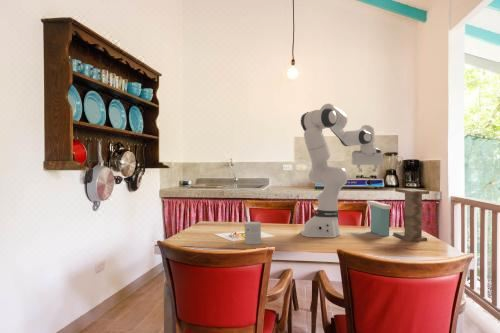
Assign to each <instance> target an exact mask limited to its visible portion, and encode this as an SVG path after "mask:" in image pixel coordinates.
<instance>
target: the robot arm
mask: <svg viewBox="0 0 500 333" xmlns="http://www.w3.org/2000/svg"><path fill="white" fill-rule="evenodd" d="M347 124H348V115H347V114H346V113H345V112H344V111H343V110H341V109H340V108H339V107H337V106H336V105H334V104H331V103H326V104H323V105H322V106H321V108H319V109H316V110H311V111H307V112H305V113H303V114H302V115H301V117H300V126H301V127H302V129H303V131H304V132H303V137H304V142H305V145H306V149H307V151H308V154H309V158H310V160H311V169H309V173H308V179H309V181H310V182H311V183H312V184H315V185H318V186H324V188H323V189H322V190H323V191H322V192H320V193H319V194H318V196H317V209H312V213H313V214H314V216H312V217H310V219H308V220H307V221H305V224H304V226H303V227H304V228H303V230H300V235H302V236H304V237H307V238H336V237H339V236H341V233H340V232H341V231H340V229H339V228H340V227H339V221H338V220H339V209H338V205H339V203H338V201H339V200H338V199H339V194H340V192H341V189H342V188H343V187H344V186H345V185H346V184H347V183H348V180H349V174H348V172H347V170H346V169H345V168H344V167H343V168H342V167H339V166H329V165H328V161H329V159H330V157H331V151H330V149H329V146H328V144H327V140H326V137H325V136H324V133H323V130H324V129H328V128H329V129H330V131H331V132H332V133H333V134H334V136H336V137H337V138H338V140H339V141H340V143H341V145H343V146H344V147H351V146H359V147H360V148H359V150H353V151H352V152H351V164H352V165H353V166H355V165H356V167H357V169H358V172H359V173H362V172H363V169H362V168H361V166H362V165H363V166H364V165H365V166H369V165H370V166H372V165H373V168H372V172H373V173H375V172H377V168H378V167H379V165H380V166H382V165H383V164H384V155H383V154H382V153H383V150H382V149H379V148H377V147H375V138H376V137H375V136H376V135H375V133H376V132H375V128H374V126H372V125H367V124H366V125H365V124H364V125H363V126H361V128H360V129H355V130H345V129H344V128H345V127H346V125H347Z"/></svg>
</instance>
